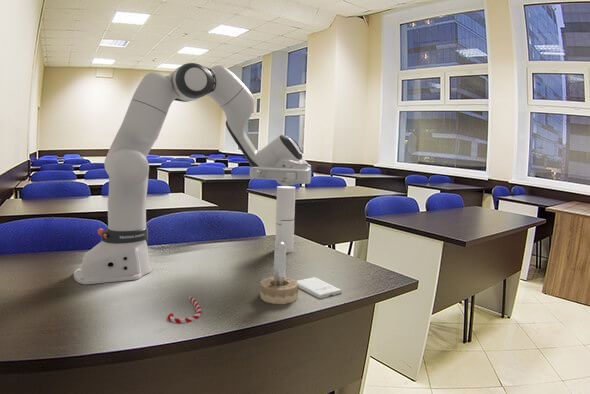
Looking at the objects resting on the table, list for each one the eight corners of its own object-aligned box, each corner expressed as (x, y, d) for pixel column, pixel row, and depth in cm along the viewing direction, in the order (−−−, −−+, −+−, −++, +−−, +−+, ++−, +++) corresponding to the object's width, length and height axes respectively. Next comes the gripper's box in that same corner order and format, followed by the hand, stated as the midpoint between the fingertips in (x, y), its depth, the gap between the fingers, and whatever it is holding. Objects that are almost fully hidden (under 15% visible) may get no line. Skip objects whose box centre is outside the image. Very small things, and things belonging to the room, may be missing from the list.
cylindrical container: (291, 253, 160) (293, 188, 157) (273, 251, 162) (274, 187, 158) (294, 248, 167) (297, 186, 164) (277, 247, 169) (279, 185, 165)
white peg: (277, 299, 114) (278, 244, 112) (271, 296, 116) (272, 241, 114) (287, 297, 116) (288, 242, 113) (280, 293, 118) (282, 240, 116)
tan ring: (273, 306, 109) (273, 292, 108) (253, 294, 117) (254, 280, 117) (304, 299, 115) (305, 285, 114) (284, 287, 123) (284, 274, 123)
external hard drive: (315, 281, 131) (341, 294, 121) (293, 286, 126) (319, 300, 116) (315, 276, 130) (342, 289, 120) (294, 281, 126) (319, 294, 116)
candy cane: (203, 295, 113) (199, 319, 98) (203, 300, 113) (199, 324, 98) (174, 296, 112) (165, 320, 97) (174, 301, 112) (165, 325, 97)
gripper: (259, 161, 146) (241, 163, 133) (315, 164, 139) (302, 167, 126) (258, 179, 147) (241, 183, 134) (314, 183, 140) (301, 187, 127)
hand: (271, 175), depth 130 cm, fingers open, 8 cm apart
